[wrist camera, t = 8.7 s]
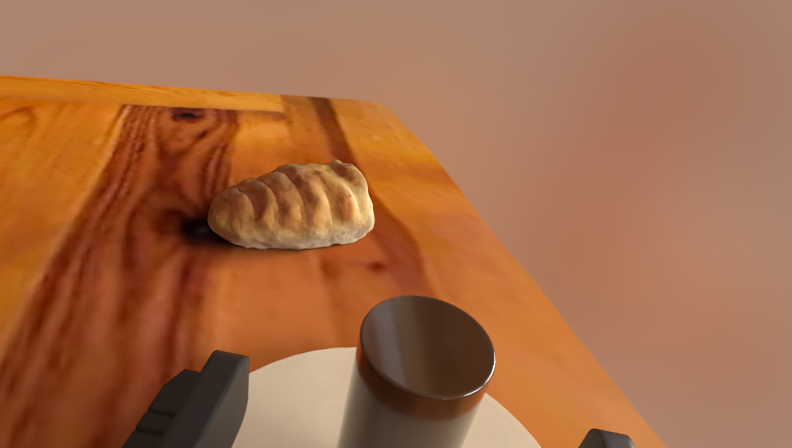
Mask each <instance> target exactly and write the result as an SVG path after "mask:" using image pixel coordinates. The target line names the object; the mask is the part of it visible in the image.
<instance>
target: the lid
mask: <svg viewBox="0 0 792 448" xmlns="http://www.w3.org/2000/svg"><path fill="white" fill-rule="evenodd" d="M495 365H496V357H495V351H494V347H493V344H492V342H491V340H490V338H489V336H488V334H487V333H486V331H485V330H484V329H483V327H482V326H481V325H480V324H479V323H478V322H477V321H476V320H475V319H474V318H473V317H471V316H470V315H469V314H468V313H466V312H465V311H463V310H462V309H460V308H458V307H456V306H454V305H452V304H450V303H448V302H445V301H442V300H439V299H435V298H432V297H426V296H418V295H407V296H398V297H394V298H390V299H387V300H385V301H383V302H381V303H379V304H378V305H376V306H375V307H374V308H372V309H371V310H370V311H369V313H368V314H367V315H366V316H365V318H364V320H363V322H362V324H361V327H360V332H359V338H358V343H357V347H345V348H330V349H322V350H314V351H310V352H306V353H301V354H297V355H293V356H290V357H287V358H284V359H281V360H278V361H275V362H272V363H270V364H268V365H266V366H264V367H261V368H259V369H257V370H255V371H253V372H251V373H249V391H248V404H247V409H246V413H245V416H244V419H243V422H242V425H241V427H240V430H239V432H238V434H237V436H236V439H235V441H234V443H233V446H232V448H541V447H540V446H539V444H538V443H537V442H536V441H535V439H534V438H533V437H532V436H531V435H530V433H529V432H528V431H527V430H526V429H525V428H524V427H523V426H522V425H521V424H520V423H519V421H518V420H517V419H516V418H515V417H514V416H513V415H511V414H510V413H509V412H508V411H507V410H506V409H505V408H504V407H503V406H502V405H500V404H499V403H498V402H497V401H496V400H494V399H493V398H492V397H490V396H489V395H488V394H487V393H485V392H486V390H487V387H488V385H489V383H490V380H491V378H492V376H493V373H494V370H495Z"/></svg>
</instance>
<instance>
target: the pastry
mask: <svg viewBox="0 0 792 448" xmlns="http://www.w3.org/2000/svg"><path fill="white" fill-rule="evenodd" d="M372 207H373V205H372V202H371V199H370V197H369V195H368V187H367V183H366V180H365V178H364V177H363V176H362V174H361V172H360V171H359V170H358V169H357V168H356V167H355V166H354V165H353V164H348V163H342V162H340V161H338V160H333V161H332V162H331V163H330V164H326V165H321V164H300V165H298V164H286V165H282V166H279V167H278V168H277V169H275V170H274V171H272V172H270V173H268V174H265V175H263V176H260V177H258V178H249V179H246V180H244V181H242V182H240V183H238V184H237V185H235V186H231V187H229V188H228V189H226V190H224V191H222V192H219V193H218V194H217V195H216V197H215V198H214V200H213V201H212V203H211V206H210V209H209V211H208V224H209V226H210V228H211V229H212V231H214V232H215V233H216V234H218V235H219V236H221V237H222V238H224V239H226V240H228V241H229V242H231V243H233V244H236V245H241V246H244V247H246V248H247V249H248V248H251V247H256V248H257V249H261V250H265V249H267V248H280V249H285V250H293V249H303V248H306V249H310V248H319V247H328V246H330V245H331V244H336V243H340V244H348V243H353V242H355V241H357V240H358V239H360V238H362V237H364V236H365V235H366V233H368V232H369V231H371V230H372V228H373V226H374V214H373V209H372Z"/></svg>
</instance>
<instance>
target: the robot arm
mask: <svg viewBox="0 0 792 448" xmlns="http://www.w3.org/2000/svg"><path fill="white" fill-rule="evenodd" d="M248 391H249V357H248V356H244V355H239V354H234V353H229V352H224V351H219V350H215V351H214V352H213V353H212V354H211V356H210V357H209V359H208V361H207V362H206V364H205V366H204V367H203V369H202V371H201V372H196V371H191V370H186V369H184V370H183V371H182V372H181V373H179V374H178V375H177V376H175V377H174V378H173V379H172V380H170V381H169V382H168V383H166V384H165V385H164V386H163V387H162V388H161V390H160V391H159V393H158V394H157V396H156V397H155V399H154V400H153V402H152V403H151V405H150V406H149V408H148V411H147V413H145V414H144V415H143V417H142V418H141V420H140V421H139V423H138V424H137V426H136V429H135V431H133V432H132V433H131V435H130V436H129V438H128V439H127V441H126V442H125V444H124V445H123V447H122V448H232V446H233V443H234V441H235V439H236V436H237V434H238V432H239V430H240V427H241V425H242V422H243V419H244V416H245V413H246V409H247V404H248ZM579 448H635V445H634V443H633V441H632V440H631V438H630V437H629V436H627V435H624V434H619V433H614V432H609V431H604V430H599V429H591V430H590V431H589V432H588V434H587V435H586V437H585V438H584V440H583V441H582V443H581V445H580V446H579Z"/></svg>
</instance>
